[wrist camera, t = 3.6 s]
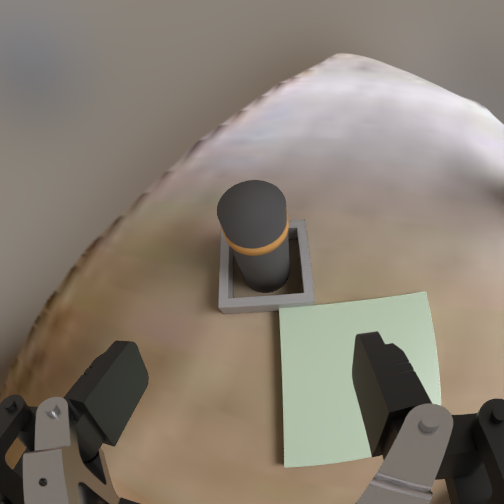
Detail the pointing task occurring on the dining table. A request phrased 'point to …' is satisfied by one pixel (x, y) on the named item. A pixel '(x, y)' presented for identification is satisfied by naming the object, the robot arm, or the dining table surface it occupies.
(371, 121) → the dining table surface
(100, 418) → the robot arm
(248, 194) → the orange-banded dark cylinder
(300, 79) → the dining table surface
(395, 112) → the dining table surface
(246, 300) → the gray square frame
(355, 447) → the pale green square mat
